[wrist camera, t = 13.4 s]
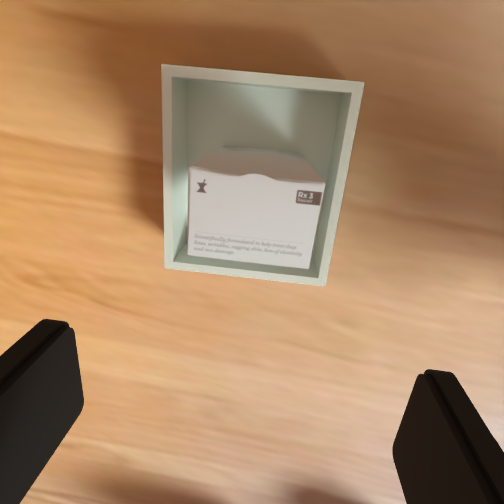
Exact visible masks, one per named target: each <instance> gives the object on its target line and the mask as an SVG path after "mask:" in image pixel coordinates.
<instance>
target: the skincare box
mask: <svg viewBox="0 0 504 504" xmlns="http://www.w3.org/2000/svg"><path fill="white" fill-rule="evenodd" d="M324 188H325V182H324V181H323V180H322V179H321V177H320V176H319V175H318V174H317V173H316V171H315V170H314V169H313V167H312V166H311V165H310V164H309V162H308V161H307V160H306V159H305V157H304V156H303V154H299V153H293V152H286V151H278V150H270V149H259V148H249V147H234V146H227V145H222V146H221V147H219V148H218V149H216V150H215V151H213V152H212V153H210V154H209V155H207V156H206V157H204V158H203V159H201V160H200V161H198V162H196V163H195V164H193V165H192V166H190V167H189V168H188V251H187V254H188V255H191V256H198V257H207V258H215V259H224V260H232V261H240V262H249V263H257V264H266V265H275V266H284V267H294V268H303V269H309V265H310V260H311V254H312V249H313V244H314V239H315V234H316V229H317V223H318V218H319V213H320V208H321V203H322V198H323V193H324Z"/></svg>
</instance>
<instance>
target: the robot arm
mask: <svg viewBox="0 0 504 504" xmlns="http://www.w3.org/2000/svg"><path fill="white" fill-rule="evenodd" d="M83 405H84V397H83V390H82V383H81V375H80V368H79V361H78V354H77V347H76V340H75V333H74V330H73V328H70V327H69V324H68V323H67V322H65V321H57V320H50V319H43V320H42V321H40V322H39V323H38V324H36V325H35V326H34V327H33V328H32V329H31V330H30V331H28V332H27V333H26V334H25V335H24V336H23V337H22V338H20V339H19V340H18V341H17V342H16V343H15V344H13V345H12V346H11V347H10V348H9V349H8V350H7V351H5V352H4V353H3V354H2V355H1V356H0V504H20V502H21V501H22V499H23V498H24V496H25V495H26V493H27V492H28V490H29V489H30V487H31V486H32V484H33V483H34V481H35V480H36V479H37V477H38V476H39V474H40V473H41V471H42V470H43V468H44V467H45V465H46V464H47V462H48V461H49V459H50V458H51V456H52V455H53V453H54V452H55V450H56V449H57V447H58V446H59V444H60V443H61V441H62V440H63V438H64V437H65V435H66V434H67V433H68V431H69V430H70V428H71V427H72V425H73V424H74V422H75V421H76V419H77V418H78V416H79V415H80V413H81V411H82V408H83ZM393 459H394V463H395V466H396V469H397V473H398V476H399V479H400V483H401V486H402V489H403V493H404V496H405V499H406V503H407V504H504V452H503V451H502V449H501V447H500V446H499V444H498V443H497V441H496V440H495V439H494V437H493V436H492V434H491V433H490V431H489V429H488V428H487V426H486V425H485V423H484V421H483V420H482V418H481V417H480V415H479V413H478V412H477V410H476V409H475V407H474V405H473V404H472V402H471V401H470V399H469V397H468V396H467V394H466V392H465V391H464V389H463V388H462V386H461V384H460V383H459V381H458V380H457V378H456V376H455V375H454V374H453V373H451V372H446V371H439V370H431V369H428V370H426V371H425V372H424V374H419V375H418V376H417V379H416V381H415V384H414V387H413V390H412V393H411V396H410V398H409V401H408V404H407V407H406V410H405V412H404V415H403V418H402V421H401V424H400V427H399V429H398V432H397V435H396V438H395V441H394V444H393Z"/></svg>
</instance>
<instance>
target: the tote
mask: <svg viewBox="0 0 504 504" xmlns="http://www.w3.org/2000/svg"><path fill="white" fill-rule="evenodd" d="M161 79H162V138H163V197H164V256H165V268H167V269H176V270H185V271H193V272H202V273H211V274H220V275H228V276H237V277H246V278H255V279H263V280H272V281H281V282H290V283H298V284H307V285H316V286H326V281H327V276H328V270H329V265H330V260H331V255H332V250H333V244H334V239H335V234H336V229H337V224H338V219H339V213H340V208H341V203H342V198H343V193H344V188H345V182H346V177H347V172H348V167H349V162H350V156H351V151H352V146H353V141H354V136H355V131H356V125H357V120H358V115H359V110H360V105H361V100H362V94H363V89H364V84H365V82H359V81H348V80H337V79H325V78H314V77H303V76H292V75H281V74H269V73H258V72H247V71H236V70H224V69H213V68H202V67H191V66H180V65H168V64H161ZM222 145H227V146H234V147H249V148H259V149H270V150H278V151H286V152H293V153H299V154H303V156H304V157H305V159H306V160H307V161H308V162H309V164H310V165H311V166H312V167H313V169H314V170H315V171H316V173H317V174H318V175H319V176H320V177H321V179H322V180H323V181H324V182H325V188H324V193H323V198H322V203H321V208H320V213H319V218H318V223H317V229H316V234H315V239H314V244H313V249H312V254H311V260H310V265H309V269H303V268H294V267H284V266H275V265H266V264H257V263H249V262H240V261H232V260H224V259H215V258H207V257H198V256H191V255H188V254H187V251H188V168H189V167H190V166H192V165H193V164H195V163H196V162H198V161H200V160H201V159H203V158H204V157H206V156H207V155H209V154H210V153H212V152H213V151H215V150H216V149H218V148H219V147H221V146H222Z"/></svg>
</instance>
